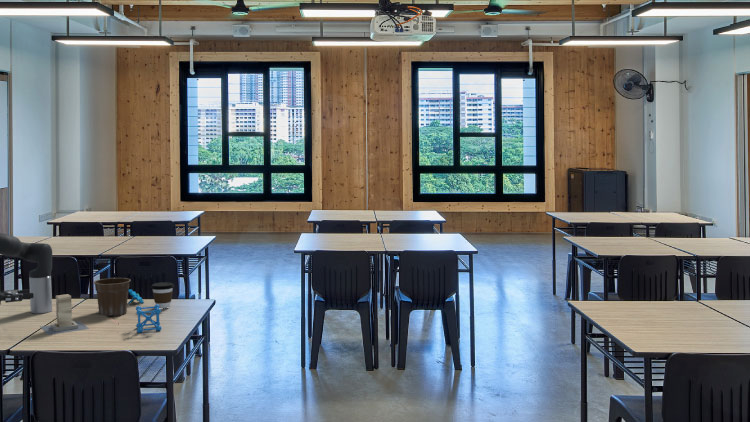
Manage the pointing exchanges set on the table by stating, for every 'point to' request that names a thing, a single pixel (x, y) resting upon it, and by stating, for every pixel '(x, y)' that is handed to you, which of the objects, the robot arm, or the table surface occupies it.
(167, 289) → the coffee cup
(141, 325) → the molecular structure
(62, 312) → the maple block
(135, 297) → the gear
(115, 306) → the plant pot
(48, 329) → the puzzle board
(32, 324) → the table surface
